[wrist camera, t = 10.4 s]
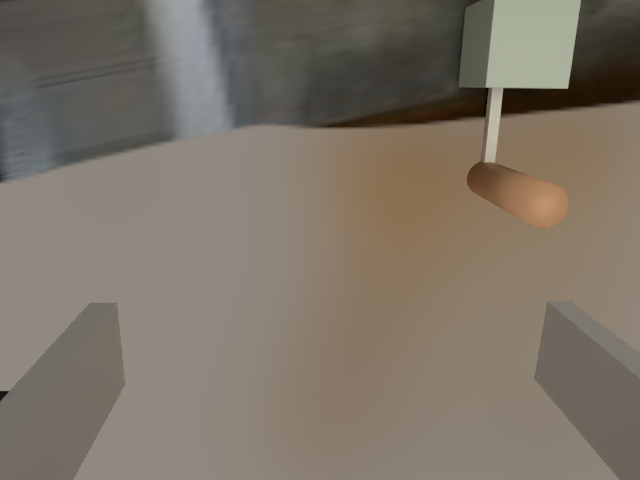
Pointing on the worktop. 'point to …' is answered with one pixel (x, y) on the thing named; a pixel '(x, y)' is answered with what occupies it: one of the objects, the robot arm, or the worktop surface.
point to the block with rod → (517, 72)
